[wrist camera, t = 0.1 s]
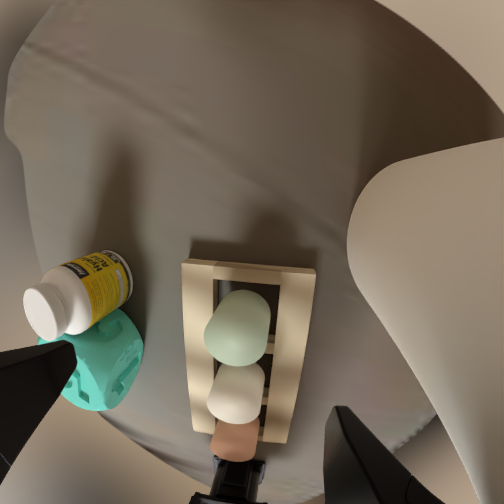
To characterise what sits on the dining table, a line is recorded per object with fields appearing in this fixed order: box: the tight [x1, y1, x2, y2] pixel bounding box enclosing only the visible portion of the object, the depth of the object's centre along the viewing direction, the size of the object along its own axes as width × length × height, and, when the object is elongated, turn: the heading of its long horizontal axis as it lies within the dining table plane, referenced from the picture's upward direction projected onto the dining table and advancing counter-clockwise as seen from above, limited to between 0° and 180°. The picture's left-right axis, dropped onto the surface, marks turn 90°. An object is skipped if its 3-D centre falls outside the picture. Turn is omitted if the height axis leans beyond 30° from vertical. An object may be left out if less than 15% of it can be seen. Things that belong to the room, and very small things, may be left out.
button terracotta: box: [210, 417, 260, 462], centre depth 21 cm, size 4×4×4 cm
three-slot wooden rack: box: [182, 258, 316, 443], centre depth 23 cm, size 19×10×2 cm, turn 177°
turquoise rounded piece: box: [38, 308, 143, 411], centre depth 21 cm, size 8×8×8 cm
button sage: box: [204, 290, 271, 367], centre depth 18 cm, size 4×4×4 cm
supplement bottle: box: [23, 250, 133, 341], centre depth 19 cm, size 5×5×10 cm
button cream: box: [207, 363, 265, 424], centre depth 20 cm, size 4×4×4 cm
